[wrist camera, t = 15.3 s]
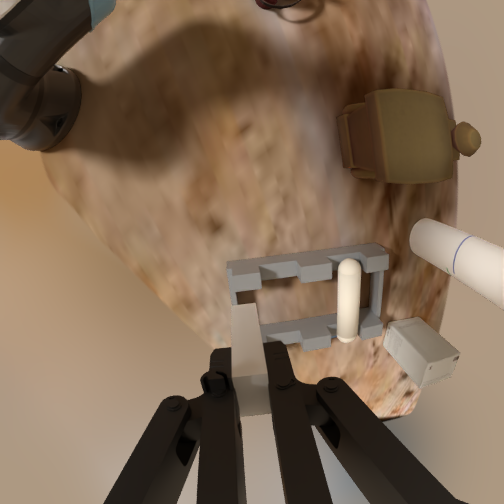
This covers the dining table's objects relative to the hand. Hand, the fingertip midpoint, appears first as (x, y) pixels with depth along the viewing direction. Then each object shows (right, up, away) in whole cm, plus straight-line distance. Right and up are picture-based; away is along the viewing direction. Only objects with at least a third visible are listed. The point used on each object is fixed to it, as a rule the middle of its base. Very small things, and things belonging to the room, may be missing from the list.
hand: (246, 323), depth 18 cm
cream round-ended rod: (+15, -3, +26) cm, 30 cm away
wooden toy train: (+22, +22, +23) cm, 38 cm away
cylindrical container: (+32, +7, +28) cm, 43 cm away
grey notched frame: (+10, -2, +29) cm, 31 cm away
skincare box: (+31, -11, +33) cm, 47 cm away
